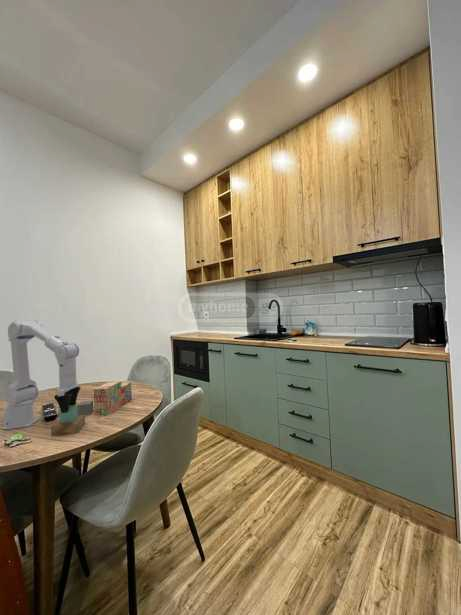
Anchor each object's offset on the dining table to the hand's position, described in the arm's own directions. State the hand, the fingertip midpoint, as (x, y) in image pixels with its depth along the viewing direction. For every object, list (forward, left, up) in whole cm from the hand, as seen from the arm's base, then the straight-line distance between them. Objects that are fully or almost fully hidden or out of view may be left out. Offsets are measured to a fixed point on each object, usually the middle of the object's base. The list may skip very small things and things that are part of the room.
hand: (68, 409), depth 101 cm
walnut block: (0, 0, -8) cm, 8 cm away
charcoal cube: (+1, +17, -8) cm, 19 cm away
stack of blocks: (+13, +22, -8) cm, 27 cm away
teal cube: (0, 0, -4) cm, 4 cm away
